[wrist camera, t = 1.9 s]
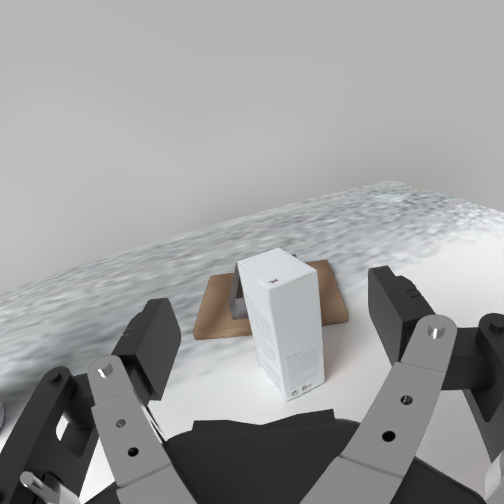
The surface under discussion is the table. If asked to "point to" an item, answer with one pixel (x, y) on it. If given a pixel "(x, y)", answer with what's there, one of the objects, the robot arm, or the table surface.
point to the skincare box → (285, 320)
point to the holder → (235, 311)
